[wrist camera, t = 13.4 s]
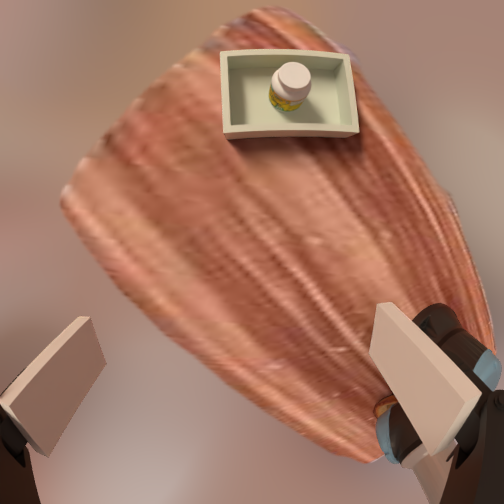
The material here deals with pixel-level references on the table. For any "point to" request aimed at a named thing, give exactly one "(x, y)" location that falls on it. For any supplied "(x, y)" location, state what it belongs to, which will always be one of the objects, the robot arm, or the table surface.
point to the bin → (273, 120)
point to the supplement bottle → (289, 87)
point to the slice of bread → (384, 405)
